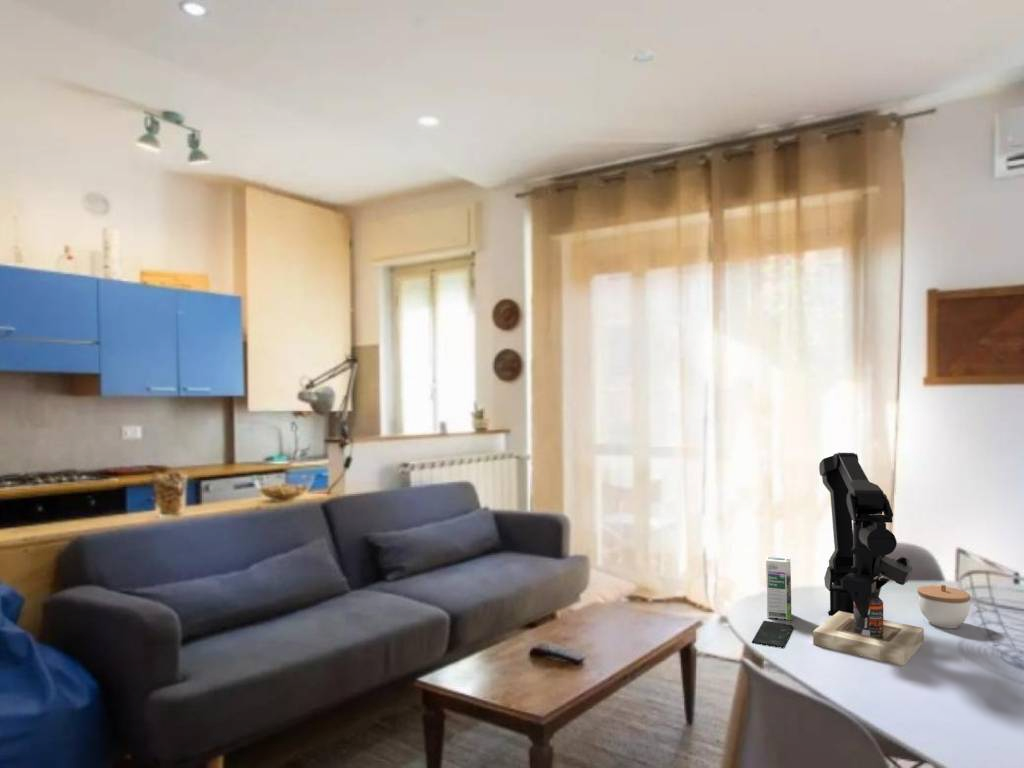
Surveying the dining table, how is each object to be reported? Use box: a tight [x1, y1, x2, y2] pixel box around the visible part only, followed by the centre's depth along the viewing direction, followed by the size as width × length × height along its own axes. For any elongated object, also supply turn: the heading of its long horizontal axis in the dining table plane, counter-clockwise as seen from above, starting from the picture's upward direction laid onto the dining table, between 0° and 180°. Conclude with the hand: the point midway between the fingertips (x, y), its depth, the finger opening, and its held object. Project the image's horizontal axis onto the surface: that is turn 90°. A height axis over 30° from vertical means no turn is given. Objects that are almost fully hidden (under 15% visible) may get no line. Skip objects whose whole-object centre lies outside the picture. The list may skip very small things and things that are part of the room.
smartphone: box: [751, 620, 794, 649], centre depth 158 cm, size 7×1×15 cm
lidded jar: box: [917, 584, 971, 629], centre depth 164 cm, size 11×11×9 cm
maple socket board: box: [812, 611, 925, 667], centre depth 152 cm, size 18×18×3 cm
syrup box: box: [765, 555, 792, 621], centre depth 171 cm, size 6×6×14 cm
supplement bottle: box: [854, 588, 884, 639], centre depth 153 cm, size 6×6×11 cm
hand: (868, 614), depth 153 cm, fingers closed on supplement bottle, 6 cm apart
